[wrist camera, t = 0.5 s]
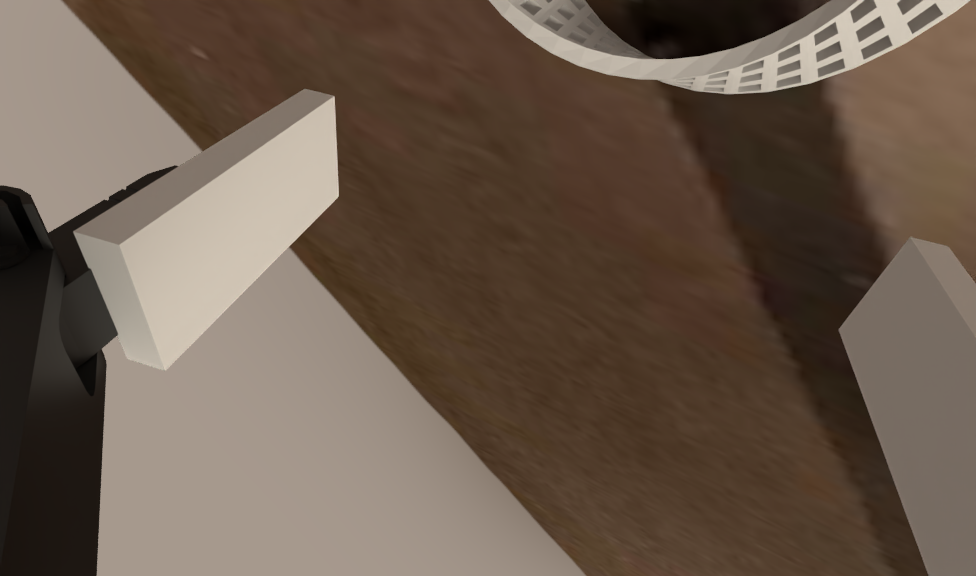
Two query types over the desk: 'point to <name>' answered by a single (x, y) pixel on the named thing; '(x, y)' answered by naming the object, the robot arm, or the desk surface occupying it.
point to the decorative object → (747, 68)
